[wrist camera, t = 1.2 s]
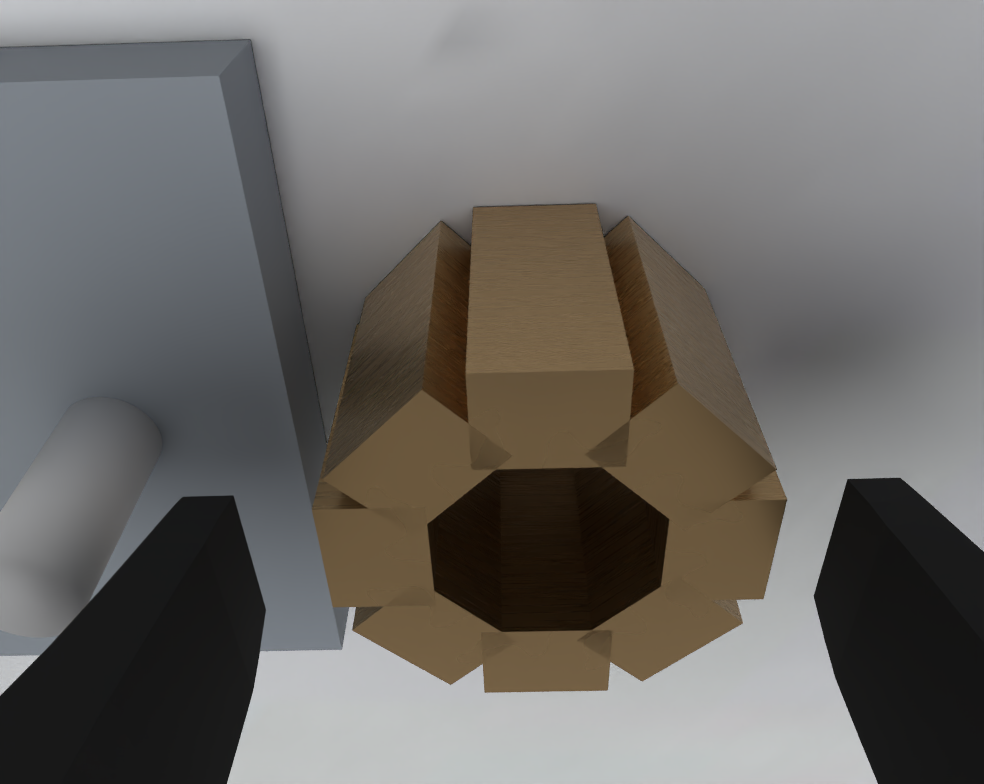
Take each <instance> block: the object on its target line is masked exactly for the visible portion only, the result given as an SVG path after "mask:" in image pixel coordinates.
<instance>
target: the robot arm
mask: <svg viewBox="0 0 984 784" xmlns="http://www.w3.org/2000/svg"><path fill="white" fill-rule="evenodd" d="M814 599H815V603H816V607H817V611H818V615H819V619H820V623H821V627H822V631H823V635H824V639H825V643H826V646H827V650H828V653H829V657H830V660H831V664H832V667H833V671H834V675H835V678H836V680H837V683H838V686H839V688H840V691H841V693H842V696H843V698H844V701H845V703H846V706H847V708H848V711H849V713H850V716H851V718H852V721H853V723H854V726H855V728H856V731H857V733H858V736H859V738H860V741H861V743H862V746H863V748H864V751H865V753H866V755H867V758H868V760H869V763H870V765H871V768H872V770H873V773H874V775H875V777H876V780H877V782H878V784H984V552H983V551H982V550H981V549H980V548H979V547H978V546H977V545H975V544H974V543H973V542H972V541H971V540H970V539H969V538H968V537H966V536H965V535H964V534H963V533H962V532H961V531H960V530H959V529H958V528H957V527H955V526H954V525H953V524H952V523H951V522H950V521H949V520H948V519H947V518H945V517H944V516H943V515H942V514H941V513H940V512H939V511H938V510H937V509H935V508H934V507H933V506H932V505H931V504H930V503H929V502H928V501H926V500H925V499H924V498H923V497H922V496H921V495H920V494H918V493H917V492H916V491H915V490H914V489H913V488H912V487H910V486H909V485H908V484H907V483H906V482H905V481H903V480H902V479H901V478H874V479H847V483H846V486H845V490H844V493H843V497H842V500H841V504H840V507H839V510H838V514H837V517H836V521H835V524H834V528H833V531H832V535H831V538H830V542H829V545H828V549H827V552H826V556H825V559H824V563H823V566H822V569H821V573H820V576H819V580H818V583H817V587H816V590H815V594H814ZM265 614H266V608H265V604H264V601H263V597H262V594H261V590H260V587H259V583H258V580H257V576H256V572H255V569H254V565H253V562H252V558H251V555H250V551H249V548H248V544H247V541H246V537H245V534H244V530H243V527H242V523H241V520H240V516H239V513H238V509H237V506H236V502H235V499H234V495H228V496H190V497H182V498H181V499H180V500H179V501H178V502H177V503H176V504H175V505H174V506H173V507H172V508H171V509H170V511H169V512H168V513H167V514H166V515H165V516H164V517H163V518H162V520H161V521H160V522H159V523H158V524H157V525H156V526H155V528H154V529H153V530H152V531H151V532H150V533H149V534H148V536H147V537H146V538H145V539H144V540H143V541H142V543H141V544H140V545H139V546H138V547H137V548H136V550H135V551H134V552H133V553H132V554H131V555H130V556H129V558H128V559H127V560H126V561H125V562H124V563H123V564H122V566H121V567H120V568H119V569H118V570H117V571H116V572H115V574H114V575H113V576H112V577H111V578H110V579H109V580H108V582H107V583H106V584H105V585H104V586H103V587H102V588H101V590H100V591H99V592H98V593H97V594H96V595H95V596H94V597H93V598H92V600H91V601H90V602H89V603H88V604H87V605H86V606H85V607H84V608H83V609H82V610H81V612H80V613H79V614H78V615H77V616H76V617H75V618H74V619H73V620H72V621H71V623H70V624H69V625H68V626H67V627H66V628H65V629H64V630H63V631H62V632H61V634H60V635H59V636H58V637H57V638H56V639H55V640H54V641H53V642H52V643H51V644H50V645H49V647H48V648H47V649H46V650H45V651H44V652H43V653H42V654H41V655H40V656H39V657H38V658H37V659H36V660H35V661H34V662H33V663H32V664H31V665H30V666H29V667H28V668H27V669H26V670H25V671H24V672H23V673H22V674H21V675H20V676H19V677H18V678H17V679H16V680H15V681H14V682H13V683H12V684H11V685H10V687H9V688H8V689H7V690H6V691H5V692H4V693H3V694H2V695H1V696H0V784H227V781H228V777H229V774H230V771H231V767H232V764H233V760H234V757H235V753H236V750H237V746H238V743H239V739H240V736H241V732H242V729H243V725H244V722H245V718H246V715H247V711H248V707H249V704H250V700H251V696H252V693H253V688H254V683H255V677H256V671H257V665H258V659H259V654H260V647H261V640H262V634H263V627H264V620H265Z"/></svg>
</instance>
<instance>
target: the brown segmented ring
mask: <svg viewBox="0 0 984 784" xmlns="http://www.w3.org/2000/svg"><path fill="white" fill-rule="evenodd" d="M775 470H777V468H776V466H775V463H774V461H773V458H772V456H771V453H770V451H769V448H768V446H767V443H766V441H765V438H764V436H763V433H762V431H761V428H760V426H759V423H758V421H757V418H756V416H755V413H754V411H753V408H752V406H751V403H750V401H749V398H748V396H747V393H746V391H745V388H744V386H743V383H742V381H741V378H740V376H739V373H738V371H737V368H736V366H735V363H734V361H733V358H732V356H731V353H730V351H729V348H728V346H727V343H726V341H725V338H724V336H723V333H722V331H721V328H720V326H719V323H718V321H717V318H716V316H715V313H714V311H713V308H712V306H711V303H710V301H709V298H708V296H707V293H706V291H705V289H704V288H703V287H702V286H701V285H700V284H699V283H698V282H697V281H696V280H695V279H694V278H693V277H692V276H691V275H690V274H689V273H688V272H686V271H685V270H684V269H683V268H682V267H681V266H680V265H679V264H678V263H677V262H676V261H675V260H674V259H673V258H672V257H671V256H670V255H669V254H668V253H667V252H666V251H665V250H663V249H662V248H661V247H660V246H659V245H658V244H657V243H656V242H655V241H654V240H653V239H652V238H651V237H650V236H649V235H648V234H647V233H646V232H645V231H644V230H643V229H642V228H640V227H639V226H638V225H637V224H636V223H635V222H634V221H633V220H632V219H631V218H630V217H629V216H627V217H626V218H625V219H624V220H623V221H622V222H621V223H620V224H619V225H617V226H616V227H615V228H614V229H613V230H612V231H611V232H610V233H608V234H607V235H606V236H605V237H603V233H602V228H601V224H600V220H599V215H598V211H597V207H596V204H579V205H544V206H508V207H473V220H472V242H471V246H470V245H469V244H468V243H466V242H465V241H464V240H463V239H462V238H461V237H459V236H458V235H457V234H456V233H455V232H453V231H452V230H451V229H450V228H449V227H447V226H446V225H445V224H444V223H443V222H442V221H440V222H439V223H438V225H437V226H436V227H435V228H434V229H433V230H432V231H431V232H430V233H429V234H428V235H427V236H426V237H425V238H424V239H423V240H422V241H421V242H420V243H419V244H418V245H417V246H416V247H415V248H414V249H413V250H412V251H411V252H410V253H409V254H408V255H407V256H406V257H405V258H404V259H403V260H402V261H401V262H400V263H399V264H398V265H397V266H396V267H395V268H394V269H393V270H392V271H391V272H390V273H389V274H388V275H387V277H386V278H385V279H384V280H383V281H382V282H381V283H380V284H379V285H378V286H377V287H376V288H375V289H374V290H373V291H372V292H371V293H370V294H369V295H368V296H367V297H366V298H365V302H364V306H363V311H362V315H361V319H360V323H359V324H357V325H356V329H355V333H354V338H353V342H352V346H351V350H350V354H349V358H348V362H347V366H346V371H345V375H344V379H343V383H342V387H341V391H340V395H339V400H338V404H337V408H336V412H335V416H334V420H333V424H332V428H331V433H330V437H329V441H328V445H327V449H326V453H325V457H324V462H323V466H322V470H321V474H320V478H319V482H318V486H317V490H316V495H315V499H314V503H313V507H312V513H313V518H314V522H315V527H316V532H317V536H318V541H319V546H320V550H321V555H322V560H323V564H324V569H325V574H326V578H327V583H328V588H329V592H330V597H331V602H332V606H333V607H356V611H355V617H354V623H353V629H352V630H353V631H354V632H356V633H358V634H360V635H362V636H363V637H365V638H367V639H369V640H371V641H372V642H374V643H376V644H378V645H380V646H381V647H383V648H385V649H387V650H389V651H390V652H392V653H394V654H396V655H398V656H399V657H401V658H403V659H405V660H407V661H409V662H410V663H412V664H414V665H416V666H418V667H419V668H421V669H423V670H425V671H427V672H428V673H430V674H432V675H434V676H436V677H437V678H439V679H441V680H443V681H445V682H446V683H448V684H450V685H451V684H453V683H454V682H456V681H457V680H459V679H460V678H462V677H463V676H465V675H466V674H468V673H469V672H471V671H472V670H474V669H476V668H477V667H479V666H480V665H482V664H483V674H484V690H485V693H486V692H544V691H602V690H608V681H609V669H610V662H612V663H614V664H615V665H617V666H618V667H620V668H621V669H623V670H625V671H626V672H628V673H629V674H631V675H633V676H634V677H636V678H637V679H639V680H640V681H644V680H646V679H647V678H649V677H651V676H652V675H654V674H656V673H658V672H659V671H661V670H663V669H665V668H666V667H668V666H670V665H671V664H673V663H675V662H677V661H678V660H680V659H682V658H684V657H685V656H687V655H689V654H690V653H692V652H694V651H696V650H697V649H699V648H701V647H703V646H704V645H706V644H708V643H709V642H711V641H713V640H715V639H716V638H718V637H720V636H722V635H723V634H725V633H727V632H728V631H730V630H732V629H734V628H735V627H737V626H739V625H741V624H742V623H743V621H742V618H741V614H740V611H739V607H738V604H737V601H736V600H742V599H764V595H765V591H766V586H767V582H768V578H769V574H770V570H771V565H772V561H773V557H774V553H775V548H776V544H777V540H778V536H779V532H780V527H781V523H782V519H783V515H784V510H785V506H786V502H787V498H786V496H785V493H784V491H783V488H782V486H781V483H780V481H779V478H778V476H777V473H776V471H775Z"/></svg>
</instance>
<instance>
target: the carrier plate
mask: <svg viewBox="0 0 984 784" xmlns="http://www.w3.org/2000/svg"><path fill="white" fill-rule="evenodd" d="M326 449H327V444H326V439H325V434H324V428H323V423H322V418H321V412H320V407H319V402H318V396H317V391H316V386H315V381H314V375H313V370H312V365H311V359H310V354H309V349H308V343H307V338H306V333H305V328H304V322H303V317H302V312H301V306H300V301H299V296H298V290H297V285H296V280H295V274H294V269H293V264H292V259H291V253H290V248H289V243H288V237H287V232H286V227H285V221H284V216H283V211H282V205H281V200H280V195H279V190H278V184H277V179H276V174H275V168H274V163H273V158H272V152H271V147H270V142H269V137H268V131H267V126H266V121H265V115H264V110H263V105H262V99H261V94H260V89H259V83H258V78H257V73H256V68H255V62H254V57H253V52H252V46H251V41H250V40H227V41H196V42H165V43H133V44H102V45H71V46H40V47H8V48H0V656H18V655H41V654H42V653H43V652H44V651H45V650H46V649H47V648H48V647H49V645H50V644H51V643H52V642H53V641H54V640H55V639H56V638H57V637H58V636H59V635H60V634H61V632H62V631H63V630H64V629H65V628H66V627H67V626H68V625H69V624H70V623H71V621H72V620H73V619H74V618H75V617H76V616H77V615H78V614H79V613H80V612H81V610H82V609H83V608H84V607H85V606H86V605H87V604H88V603H89V602H90V601H91V600H92V598H93V597H94V596H95V595H96V594H97V593H98V592H99V591H100V590H101V588H102V587H103V586H104V585H105V584H106V583H107V582H108V580H109V579H110V578H111V577H112V576H113V575H114V574H115V572H116V571H117V570H118V569H119V568H120V567H121V566H122V564H123V563H124V562H125V561H126V560H127V559H128V558H129V556H130V555H131V554H132V553H133V552H134V551H135V550H136V548H137V547H138V546H139V545H140V544H141V543H142V541H143V540H144V539H145V538H146V537H147V536H148V534H149V533H150V532H151V531H152V530H153V529H154V528H155V526H156V525H157V524H158V523H159V522H160V521H161V520H162V518H163V517H164V516H165V515H166V514H167V513H168V512H169V511H170V509H171V508H172V507H173V506H174V505H175V504H176V503H177V502H178V501H179V500H180V499H181V498H182V497H190V496H228V495H234V499H235V502H236V506H237V509H238V513H239V516H240V520H241V523H242V527H243V530H244V534H245V537H246V541H247V544H248V548H249V551H250V555H251V558H252V562H253V565H254V569H255V572H256V576H257V580H258V583H259V587H260V590H261V594H262V597H263V601H264V604H265V608H266V614H265V620H264V627H263V634H262V640H261V647H260V651H292V650H342V646H343V640H344V634H345V628H346V622H347V616H348V611H349V607H333V606H332V602H331V597H330V592H329V588H328V583H327V578H326V574H325V569H324V564H323V560H322V555H321V550H320V546H319V541H318V536H317V532H316V527H315V522H314V518H313V513H312V507H313V503H314V499H315V495H316V490H317V486H318V482H319V478H320V474H321V470H322V466H323V462H324V457H325V453H326Z"/></svg>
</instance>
